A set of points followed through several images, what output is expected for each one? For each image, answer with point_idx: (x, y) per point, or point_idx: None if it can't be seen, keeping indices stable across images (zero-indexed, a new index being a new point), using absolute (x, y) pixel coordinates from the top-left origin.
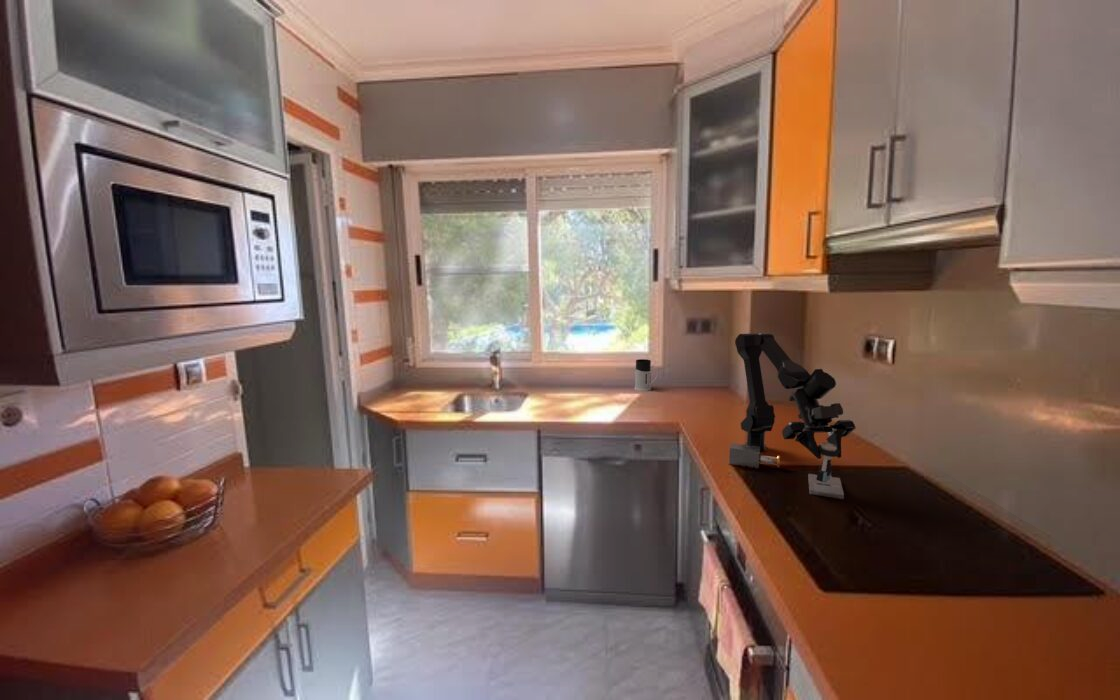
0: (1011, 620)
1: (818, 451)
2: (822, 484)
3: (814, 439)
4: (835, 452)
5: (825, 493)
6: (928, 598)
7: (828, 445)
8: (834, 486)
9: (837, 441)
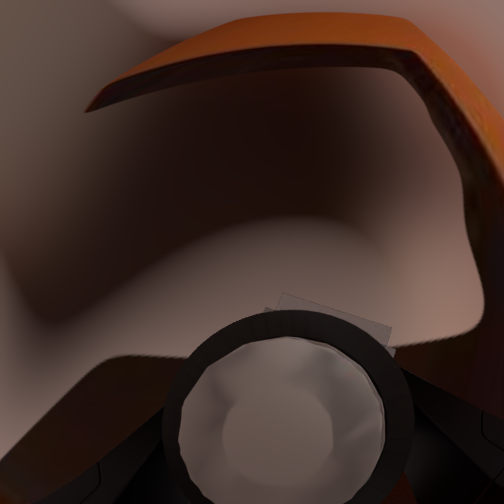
0: (241, 37)
1: (414, 389)
2: (356, 323)
3: (494, 474)
4: (261, 315)
5: None
6: (302, 42)
7: (308, 402)
8: (305, 303)
9: (110, 490)
